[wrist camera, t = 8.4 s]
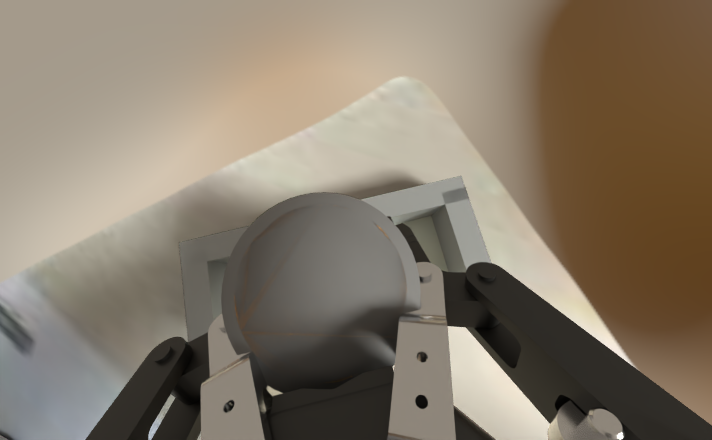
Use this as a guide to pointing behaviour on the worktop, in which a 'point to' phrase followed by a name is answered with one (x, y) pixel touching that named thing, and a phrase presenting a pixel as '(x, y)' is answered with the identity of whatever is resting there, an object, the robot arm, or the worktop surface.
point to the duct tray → (409, 206)
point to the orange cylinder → (319, 291)
